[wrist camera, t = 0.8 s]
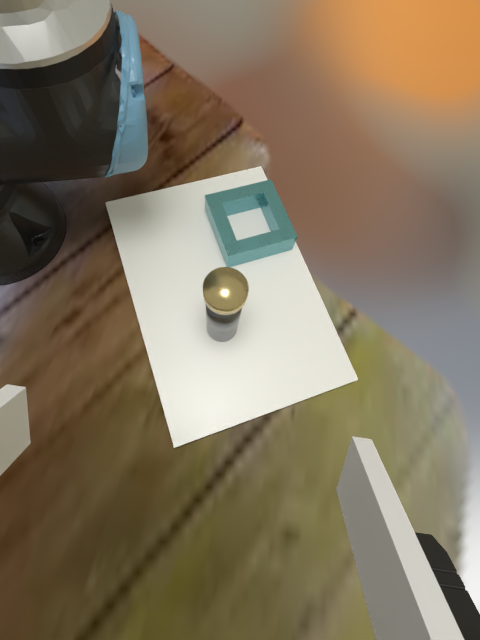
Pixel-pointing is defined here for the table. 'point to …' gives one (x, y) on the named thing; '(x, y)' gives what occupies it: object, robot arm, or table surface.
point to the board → (190, 313)
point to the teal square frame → (246, 200)
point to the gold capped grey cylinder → (224, 301)
